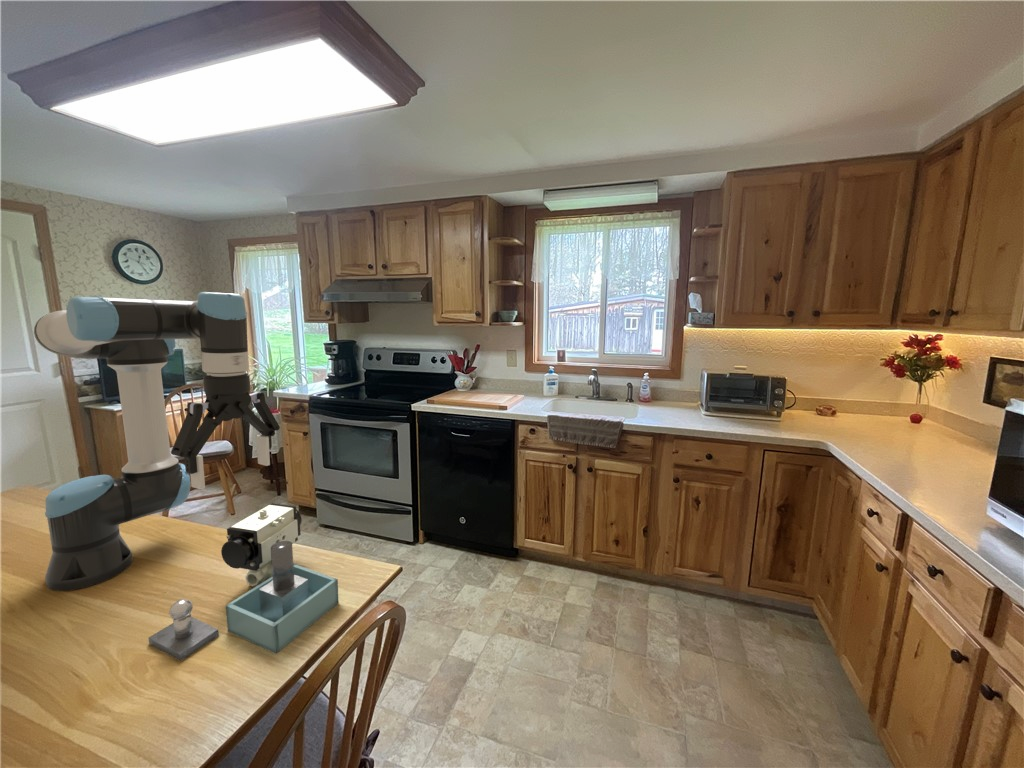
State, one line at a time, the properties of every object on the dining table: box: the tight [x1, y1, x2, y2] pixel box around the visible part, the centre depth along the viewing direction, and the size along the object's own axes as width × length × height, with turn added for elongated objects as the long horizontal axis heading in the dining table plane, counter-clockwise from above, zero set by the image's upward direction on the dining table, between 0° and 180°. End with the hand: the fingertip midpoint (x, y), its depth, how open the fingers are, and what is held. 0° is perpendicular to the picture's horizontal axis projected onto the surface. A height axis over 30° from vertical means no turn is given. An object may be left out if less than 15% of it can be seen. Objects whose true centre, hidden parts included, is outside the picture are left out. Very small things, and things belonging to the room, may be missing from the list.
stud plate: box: [148, 598, 220, 662], centre depth 82 cm, size 10×7×9 cm
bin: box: [225, 563, 340, 655], centre depth 90 cm, size 14×16×6 cm
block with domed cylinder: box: [259, 541, 309, 623], centre depth 89 cm, size 7×7×16 cm
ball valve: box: [220, 502, 303, 587], centre depth 102 cm, size 18×8×18 cm, turn 168°
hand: (233, 475), depth 84 cm, fingers open, 13 cm apart
